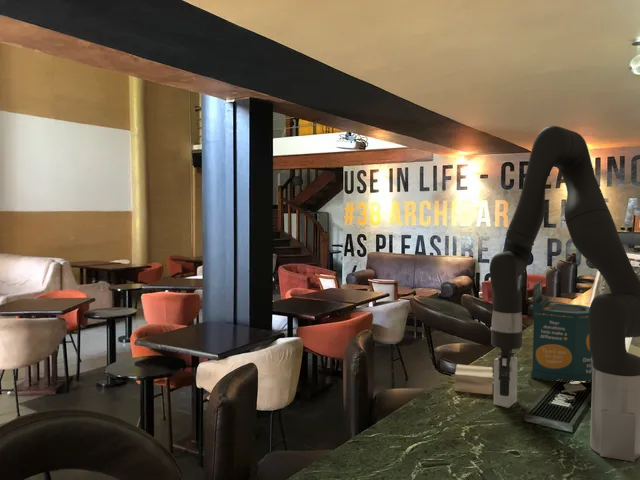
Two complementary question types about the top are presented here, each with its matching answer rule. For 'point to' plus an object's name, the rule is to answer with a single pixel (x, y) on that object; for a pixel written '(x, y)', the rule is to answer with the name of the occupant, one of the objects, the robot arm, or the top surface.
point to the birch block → (474, 379)
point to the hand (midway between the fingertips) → (505, 390)
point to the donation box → (560, 340)
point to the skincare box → (512, 398)
